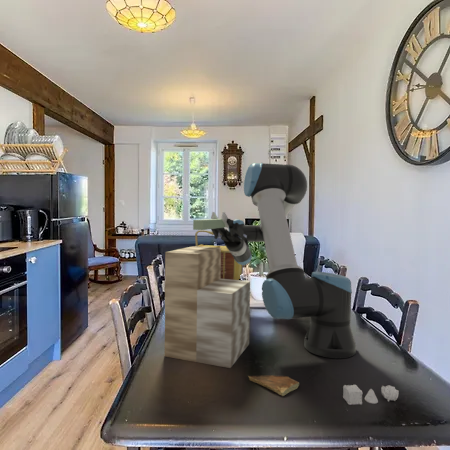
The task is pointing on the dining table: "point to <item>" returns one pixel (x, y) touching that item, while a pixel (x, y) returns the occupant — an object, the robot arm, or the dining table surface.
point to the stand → (204, 308)
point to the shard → (276, 383)
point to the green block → (208, 224)
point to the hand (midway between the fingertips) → (217, 215)
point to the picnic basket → (225, 261)
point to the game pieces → (355, 394)
